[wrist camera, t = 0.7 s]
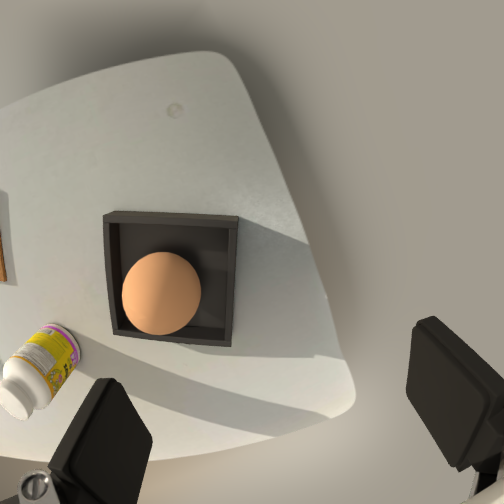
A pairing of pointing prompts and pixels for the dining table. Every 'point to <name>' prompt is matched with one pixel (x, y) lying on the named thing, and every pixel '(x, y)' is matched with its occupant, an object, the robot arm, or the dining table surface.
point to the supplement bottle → (38, 371)
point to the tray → (189, 248)
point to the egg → (161, 293)
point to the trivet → (2, 265)
